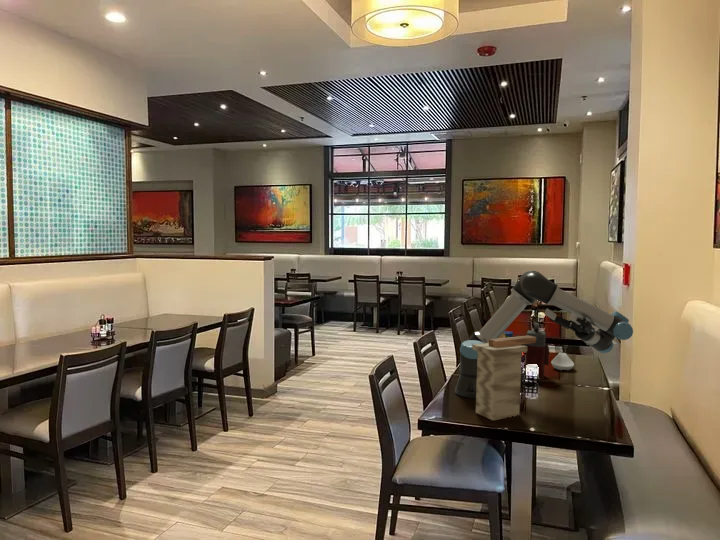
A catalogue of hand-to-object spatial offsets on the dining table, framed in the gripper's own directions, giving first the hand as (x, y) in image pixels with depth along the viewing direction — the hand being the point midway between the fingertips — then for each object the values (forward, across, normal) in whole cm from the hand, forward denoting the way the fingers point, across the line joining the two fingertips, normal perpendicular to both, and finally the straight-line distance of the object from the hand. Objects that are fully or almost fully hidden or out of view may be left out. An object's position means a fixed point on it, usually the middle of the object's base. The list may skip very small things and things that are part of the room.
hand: (558, 313), depth 219 cm
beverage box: (-32, +49, -28) cm, 65 cm away
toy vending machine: (-43, +35, -22) cm, 60 cm away
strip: (+16, +1, -22) cm, 27 cm away
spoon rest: (-70, +45, -8) cm, 83 cm away
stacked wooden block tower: (+9, +1, -50) cm, 50 cm away
